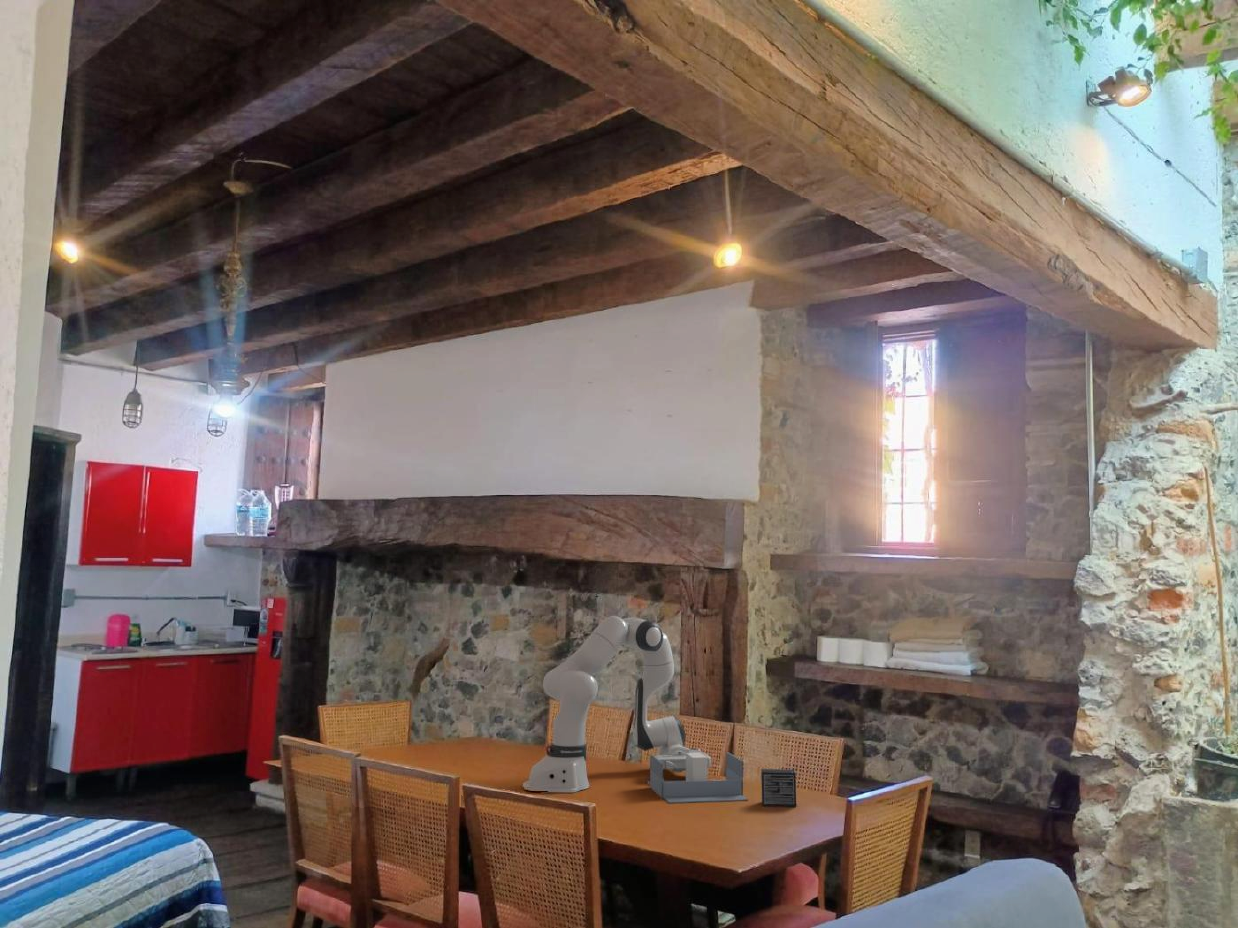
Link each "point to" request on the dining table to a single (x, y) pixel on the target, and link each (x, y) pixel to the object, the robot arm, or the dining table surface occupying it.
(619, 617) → the robot arm
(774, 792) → the small box
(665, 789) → the blue-grey open walled piece
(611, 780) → the dining table surface
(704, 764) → the box
